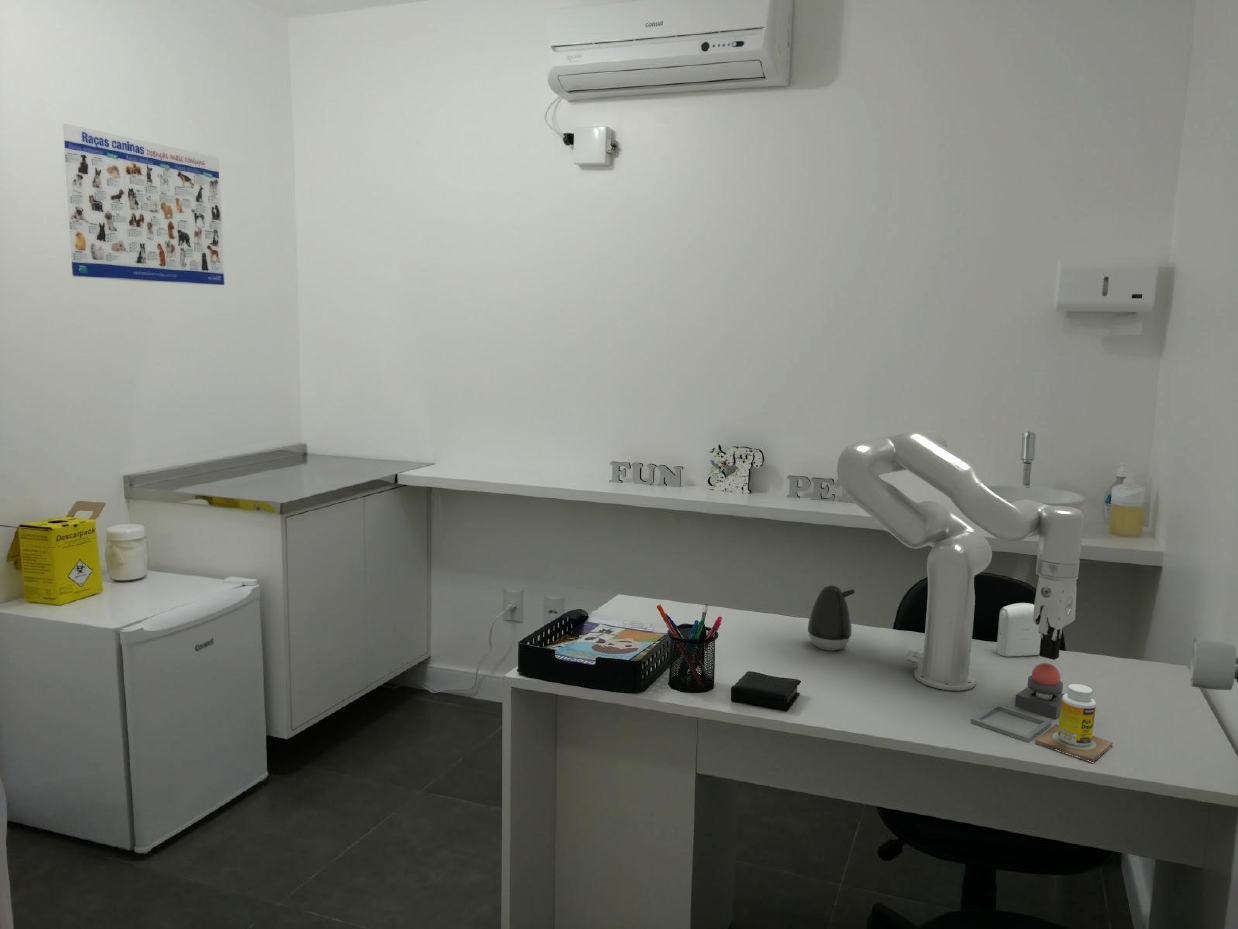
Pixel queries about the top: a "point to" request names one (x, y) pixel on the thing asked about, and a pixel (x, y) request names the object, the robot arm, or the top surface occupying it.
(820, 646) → the pump dispenser
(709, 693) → the top surface
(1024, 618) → the photo printer
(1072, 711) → the supplement bottle
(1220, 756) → the top surface
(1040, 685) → the dome cap
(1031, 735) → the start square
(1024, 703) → the dome housing
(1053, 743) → the pad
